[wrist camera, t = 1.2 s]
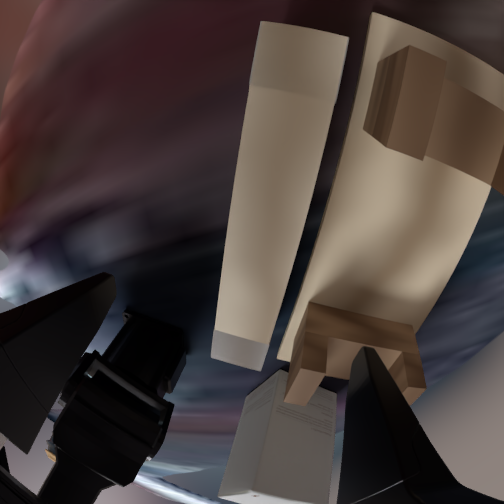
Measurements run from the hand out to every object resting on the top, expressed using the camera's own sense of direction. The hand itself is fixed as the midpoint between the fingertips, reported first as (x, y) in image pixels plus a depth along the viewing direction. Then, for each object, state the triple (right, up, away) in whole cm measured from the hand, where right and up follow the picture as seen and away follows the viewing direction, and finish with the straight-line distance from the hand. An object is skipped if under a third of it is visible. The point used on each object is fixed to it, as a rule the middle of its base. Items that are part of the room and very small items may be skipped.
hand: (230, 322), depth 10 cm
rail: (+2, +5, +9) cm, 11 cm away
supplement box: (+5, -13, +19) cm, 23 cm away
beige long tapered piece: (+10, +3, +8) cm, 13 cm away
